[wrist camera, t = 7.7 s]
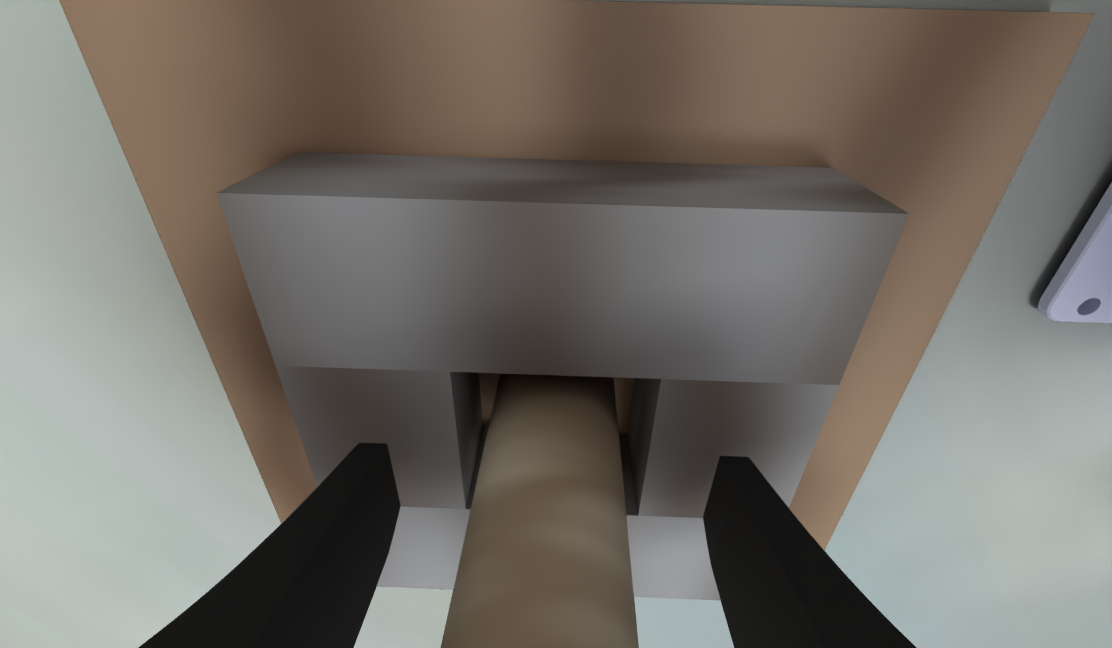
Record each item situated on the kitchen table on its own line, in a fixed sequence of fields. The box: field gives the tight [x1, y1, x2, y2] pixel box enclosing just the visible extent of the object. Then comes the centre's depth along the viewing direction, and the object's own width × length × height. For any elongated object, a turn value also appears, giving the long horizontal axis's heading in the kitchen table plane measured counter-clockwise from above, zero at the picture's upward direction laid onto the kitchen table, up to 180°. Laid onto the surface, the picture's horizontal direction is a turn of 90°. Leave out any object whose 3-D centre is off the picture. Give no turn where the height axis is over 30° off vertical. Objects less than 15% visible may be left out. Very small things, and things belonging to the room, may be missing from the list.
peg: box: [441, 373, 639, 648], centre depth 10 cm, size 3×3×10 cm
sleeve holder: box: [59, 0, 1095, 600], centre depth 14 cm, size 20×18×4 cm
